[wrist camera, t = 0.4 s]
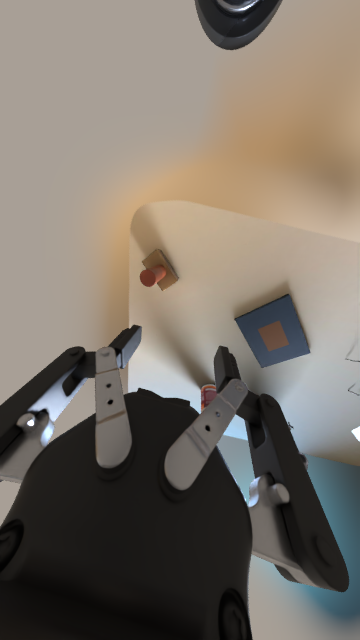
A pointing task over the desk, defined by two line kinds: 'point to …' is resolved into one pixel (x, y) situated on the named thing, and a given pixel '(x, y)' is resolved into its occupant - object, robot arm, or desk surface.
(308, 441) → the desk surface
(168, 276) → the stamp
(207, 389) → the pill bottle
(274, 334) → the mat
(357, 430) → the white voxel figure
